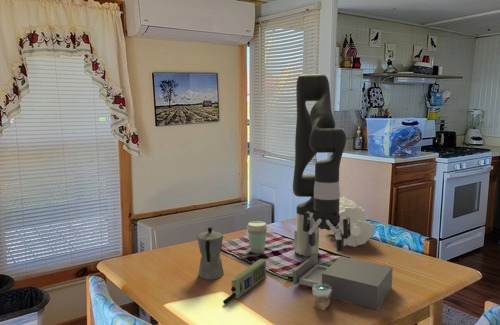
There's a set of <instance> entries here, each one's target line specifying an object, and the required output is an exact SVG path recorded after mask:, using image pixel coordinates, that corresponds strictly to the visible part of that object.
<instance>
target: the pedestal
mask: <svg viewBox="0 0 500 325" xmlns="http://www.w3.org/2000/svg"><path fill="white" fill-rule="evenodd" d="M330 300H331V299H330V297H329V298H325V299H323V298H317V297H315V296H313V301H314V302H313V307H314V308H315V309H318V310H322V311H325V310H326V309H327V308H328V306H330V304H331V303H330V302H331V301H330Z"/></svg>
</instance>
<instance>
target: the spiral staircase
mask: <svg viewBox="0 0 500 325" xmlns="http://www.w3.org/2000/svg"><path fill="white" fill-rule="evenodd" d="M339 215H340V217H343V218H346V217H349V218H350V233H351V235H350V237H348V238H347V239H344V247H346V246H348V247H349V246H350V247H354V248H356V247H358V246H361V245H364V244H367V242H368V241H369V239H371V238H372V237H373V236H374V235H373V232H374V230H375V227H376V225H375V224H372V223H371V221H367V220H366V219H368V218H369V217H368V214H367V211H366V209H363V208H362V206H358V205H357V204H356V202H355V201H353V199H349V198H347V197H346V196H342V197H340V204H339ZM338 225H339V226H340V228H341V231H342V232H343V234H344V231H343V225H342V223H341V222H339V223H338ZM329 233H331V235H334V237H335V240H336V241H337V240H338V238H337V236H336V235H335V234H334V233H333V232H332V230H329Z"/></svg>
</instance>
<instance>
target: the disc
mask: <svg viewBox="0 0 500 325" xmlns="http://www.w3.org/2000/svg"><path fill="white" fill-rule="evenodd" d="M311 289H312V292H311V294H312V296H313V297H314V296H315V297H317V298H323V299H325V298H329V297H331V296H332V287H331V286H330V285H328V284H323V283H319V284H315V285H313V286H312V287H311Z"/></svg>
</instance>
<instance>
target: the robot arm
mask: <svg viewBox="0 0 500 325" xmlns="http://www.w3.org/2000/svg"><path fill="white" fill-rule="evenodd" d="M295 88H296V92H295V94H296V123H295V124H296V126H295V127H296V128H295V140H294V141H295V142H294V147H295V148H294V150H295V151H294V153H295V154H294V158H295V159H294V170H293V179H292V180H293V181H292V191H293V195H294V196H296V197H299V198H302V197H305V198H307V197H309V199H308V200H307V201H304V202H301V203H299V204H297V205H296V224H295V225H296V229H295V230H294V234H293V235H294V238H293V239H294V245H293V246H294V249H293V250H294V252H296V253H295V254H297V253H298V254H297V255H299V256H301V255H303V256H302V257H308V256H310V257H311V256H312V255H314V254H318V255H319V253H320V252H319V251H320V250H319V249H320V246H319V245H320V242H319V241H320V230H327V231H330V230H332V232H333V233H334V234H335V235H336V236H337V238H338V240H336V252H338V253H340V252H342V250H343V249H344V247H345V246H344V239H347V238H348V237H350V235H351V233H350V218H349V217H346V218H343V217H340V215H339V204H340V198H341V188H340V166H341V160H342V156H343V153H344V150H345V147H346V143H347V136H346V133H345V131H344V130H343V129H341V128H339V127H337V128H336V122H335V119H334V115H333V112H332V101H331V89H330V82H329V78H328V77H327V75H325V74H322V73H320V74H319V73H318V74H317V73H316V74H314V73H312V74H300V75H299V76H298V77H297V79H296V87H295ZM306 102H315V104H314V105H313V106H312V107H311V110H310V112H309V111H308V108H307V105H306ZM318 153H319V154H320V153H324V154H325V153H329V154H330V153H331V156H330V157H328V158H326V159H322V160H319V161H316V162H315V165H314V173H304V172H305V169H306V168H307V166H308V164H309V163H310V162H311V161H312V160H313V159H314V158H315V156H316V155H317V154H318ZM339 222H341V223H342V225H343V231H344V234H343V232H342V231H341V228H340V226H339V225H338V223H339ZM335 235H334V236H335Z"/></svg>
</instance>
